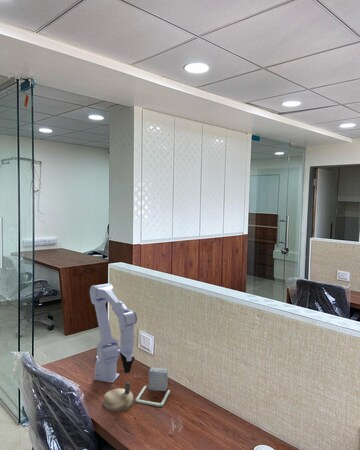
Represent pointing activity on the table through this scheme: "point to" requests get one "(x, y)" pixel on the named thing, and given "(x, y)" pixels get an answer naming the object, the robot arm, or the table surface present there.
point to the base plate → (119, 409)
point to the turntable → (119, 398)
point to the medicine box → (158, 379)
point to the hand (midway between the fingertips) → (126, 369)
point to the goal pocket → (149, 401)
